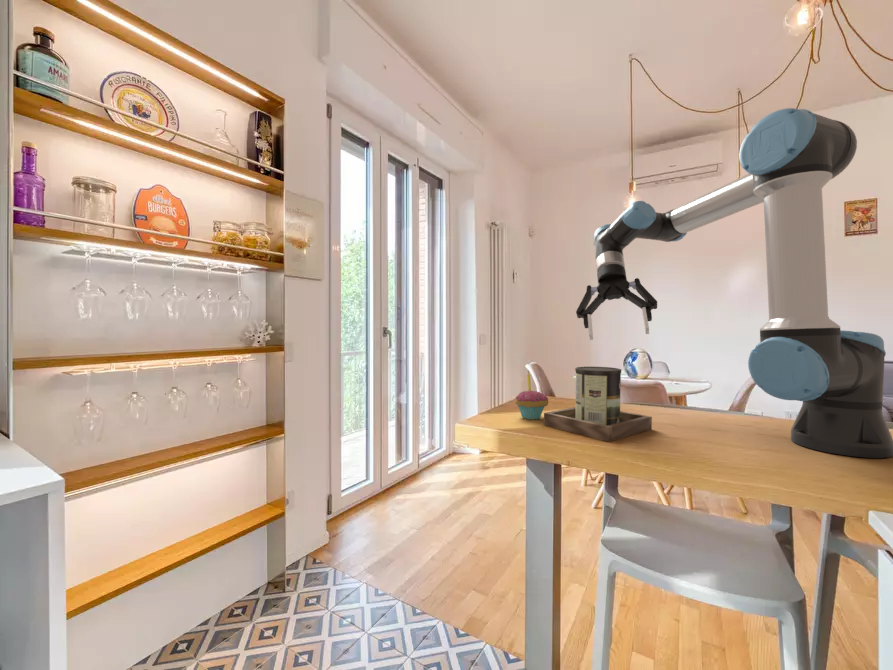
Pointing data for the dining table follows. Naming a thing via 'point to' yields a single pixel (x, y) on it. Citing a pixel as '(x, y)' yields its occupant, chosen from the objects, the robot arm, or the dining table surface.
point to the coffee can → (598, 394)
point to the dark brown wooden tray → (626, 427)
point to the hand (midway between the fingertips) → (618, 334)
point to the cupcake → (531, 402)
